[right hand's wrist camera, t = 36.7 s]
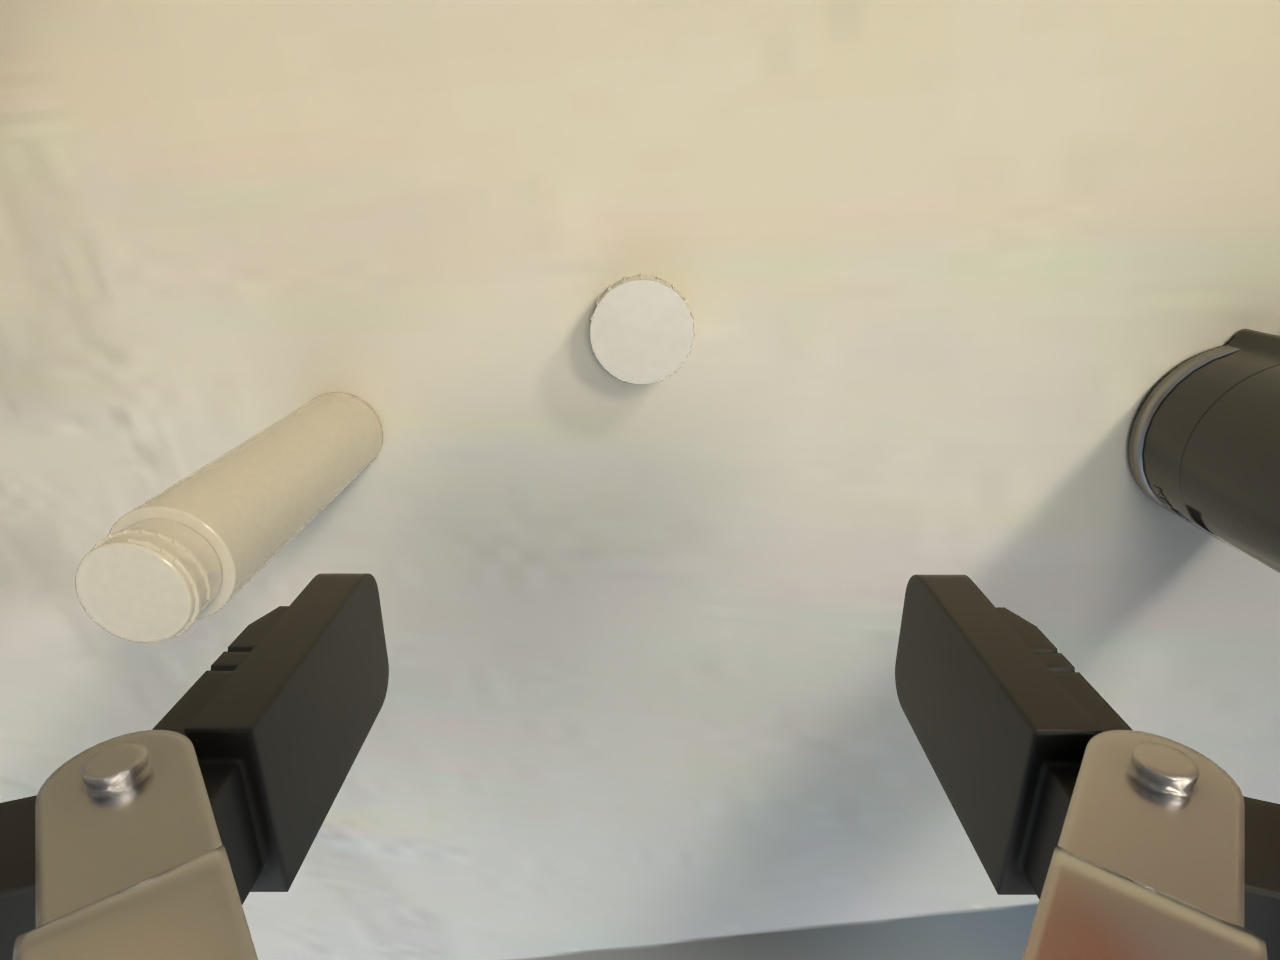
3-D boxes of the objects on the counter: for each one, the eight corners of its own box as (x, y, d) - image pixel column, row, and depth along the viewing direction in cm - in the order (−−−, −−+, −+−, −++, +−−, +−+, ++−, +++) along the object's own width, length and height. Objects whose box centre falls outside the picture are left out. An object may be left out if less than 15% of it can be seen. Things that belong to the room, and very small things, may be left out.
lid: (713, 322, 38) (717, 329, 36) (645, 396, 39) (645, 407, 37) (638, 251, 37) (638, 254, 34) (570, 330, 38) (566, 338, 36)
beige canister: (377, 477, 41) (199, 666, 24) (297, 459, 40) (62, 637, 24) (388, 403, 39) (206, 549, 23) (305, 383, 39) (59, 517, 22)
